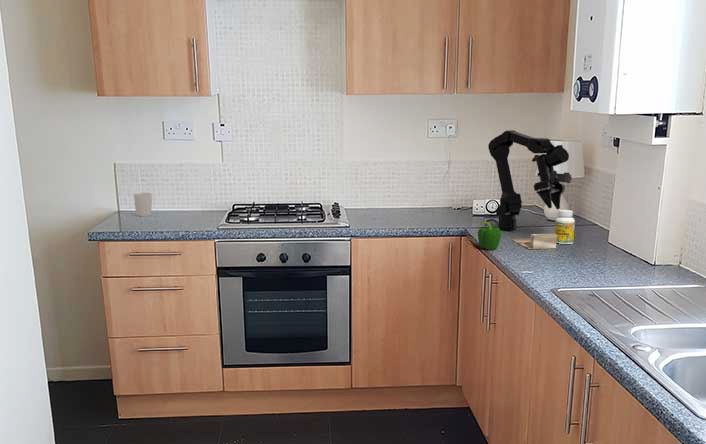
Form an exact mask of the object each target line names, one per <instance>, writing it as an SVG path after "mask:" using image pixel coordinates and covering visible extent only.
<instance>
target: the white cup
mask: <svg viewBox="0 0 706 444" xmlns="http://www.w3.org/2000/svg"><path fill="white" fill-rule="evenodd" d="M152 195H153V194H152V193H151V192H137V193H133V200H134V208H135V213H136V216H137V217H148V216H149V217H150V216H151V215H152V206H153V205H152V197H153V196H152Z"/></svg>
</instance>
